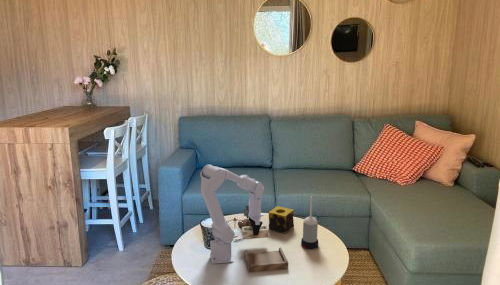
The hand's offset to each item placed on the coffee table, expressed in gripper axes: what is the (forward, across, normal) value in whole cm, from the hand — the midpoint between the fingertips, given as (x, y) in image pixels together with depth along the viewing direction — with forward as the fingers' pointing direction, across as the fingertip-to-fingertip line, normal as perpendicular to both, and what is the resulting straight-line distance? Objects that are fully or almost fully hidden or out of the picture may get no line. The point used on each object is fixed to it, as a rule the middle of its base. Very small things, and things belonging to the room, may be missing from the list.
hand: (254, 232), depth 179 cm
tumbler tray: (+2, 0, 0) cm, 2 cm away
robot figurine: (+7, +23, 0) cm, 24 cm away
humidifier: (+7, -4, -26) cm, 27 cm away
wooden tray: (+7, -16, -2) cm, 17 cm away
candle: (+7, +16, -17) cm, 24 cm away
